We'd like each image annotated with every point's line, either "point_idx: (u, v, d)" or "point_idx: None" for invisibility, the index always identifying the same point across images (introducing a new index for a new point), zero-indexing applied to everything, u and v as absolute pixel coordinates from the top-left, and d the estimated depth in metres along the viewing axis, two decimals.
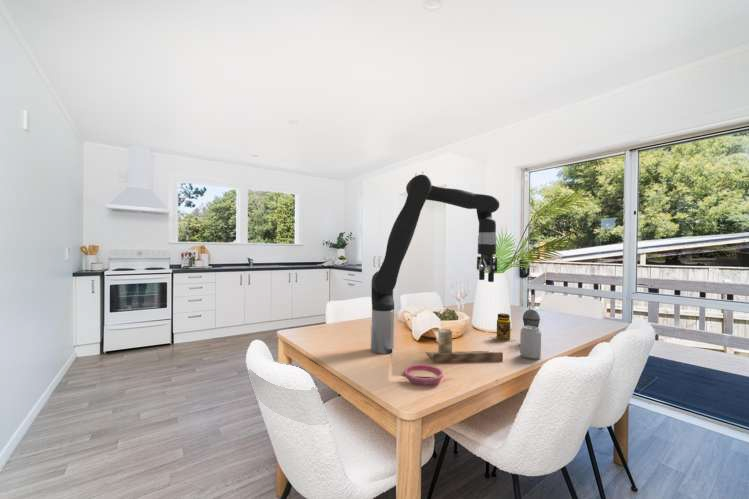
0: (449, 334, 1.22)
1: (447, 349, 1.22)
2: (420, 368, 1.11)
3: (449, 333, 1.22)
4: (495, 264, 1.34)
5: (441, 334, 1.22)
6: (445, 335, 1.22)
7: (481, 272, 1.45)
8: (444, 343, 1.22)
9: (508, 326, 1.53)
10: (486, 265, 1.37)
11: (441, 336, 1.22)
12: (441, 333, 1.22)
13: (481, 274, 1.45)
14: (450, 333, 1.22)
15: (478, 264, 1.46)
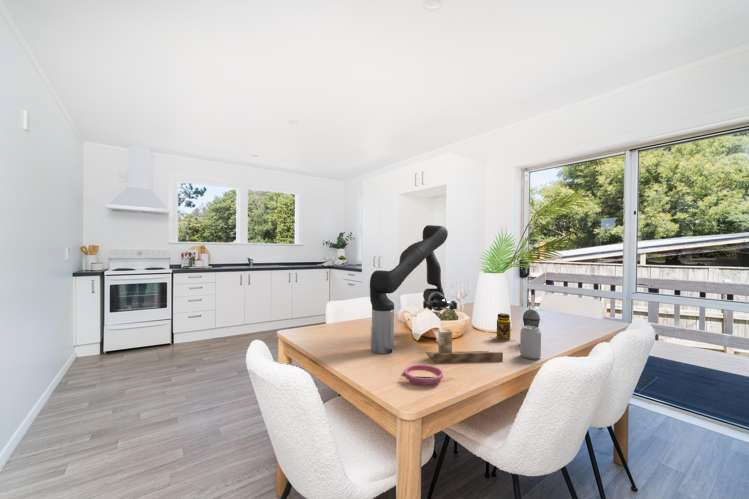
0: (449, 334, 1.22)
1: (447, 349, 1.22)
2: (420, 368, 1.11)
3: (449, 333, 1.22)
4: None
5: (441, 334, 1.22)
6: (445, 335, 1.22)
7: None
8: (444, 343, 1.22)
9: (508, 326, 1.53)
10: (447, 301, 1.41)
11: (441, 336, 1.22)
12: (441, 333, 1.22)
13: None
14: (450, 333, 1.22)
15: (426, 302, 1.42)
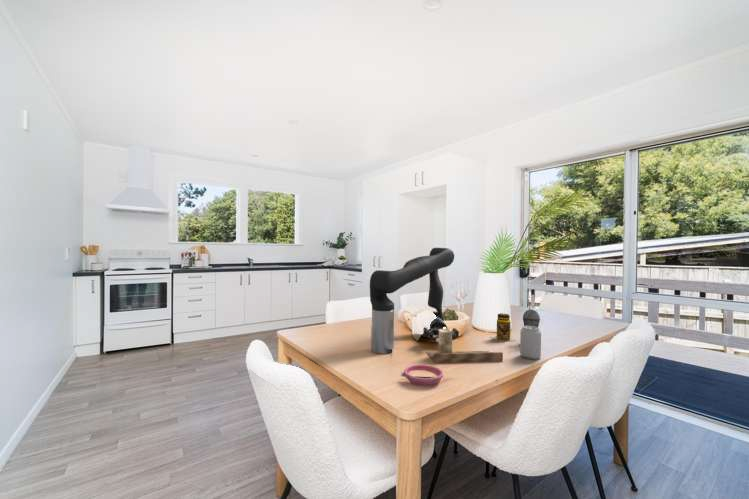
0: (449, 334, 1.22)
1: (447, 349, 1.22)
2: (420, 368, 1.11)
3: (449, 333, 1.22)
4: None
5: (441, 334, 1.22)
6: (445, 335, 1.22)
7: None
8: (444, 343, 1.22)
9: (508, 326, 1.53)
10: None
11: (441, 336, 1.22)
12: (441, 333, 1.22)
13: None
14: (450, 333, 1.22)
15: (426, 330, 1.37)
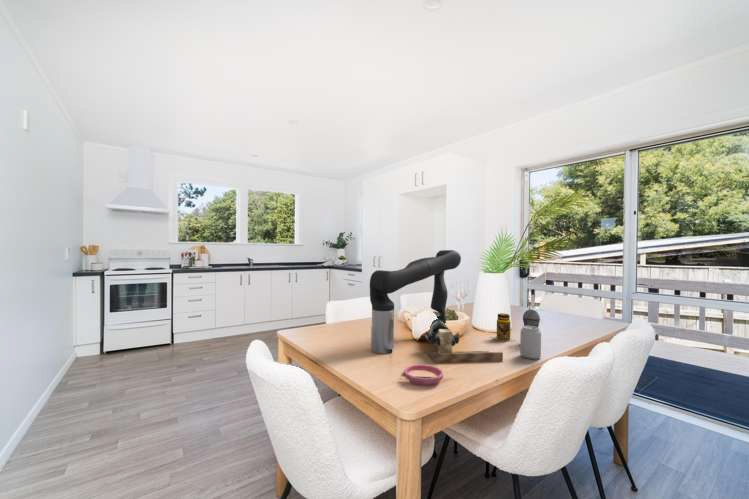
0: (449, 334, 1.22)
1: (447, 349, 1.22)
2: (420, 368, 1.11)
3: (449, 333, 1.22)
4: (458, 339, 1.28)
5: (441, 334, 1.22)
6: (445, 335, 1.22)
7: None
8: (444, 343, 1.22)
9: (508, 326, 1.53)
10: None
11: (441, 336, 1.22)
12: (441, 333, 1.22)
13: None
14: (450, 333, 1.22)
15: (431, 335, 1.28)
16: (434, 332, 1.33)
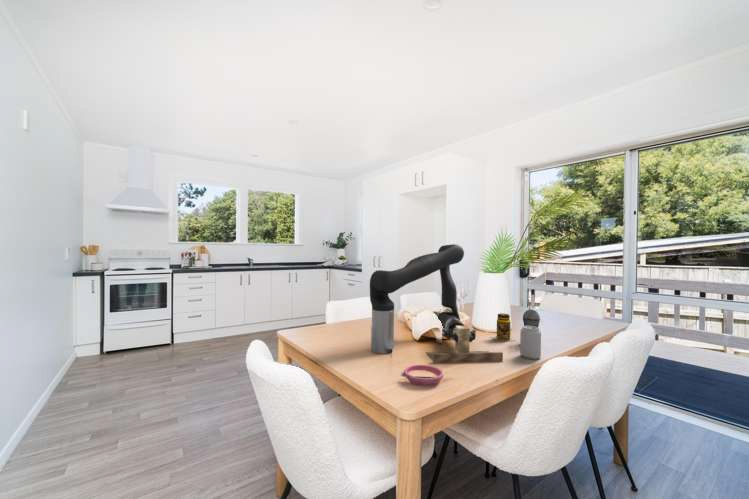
0: (467, 330, 1.23)
1: (464, 345, 1.23)
2: (420, 368, 1.11)
3: (467, 329, 1.23)
4: (475, 336, 1.29)
5: (459, 330, 1.23)
6: (463, 331, 1.23)
7: None
8: (462, 339, 1.23)
9: (508, 326, 1.53)
10: None
11: (459, 332, 1.23)
12: (459, 329, 1.23)
13: None
14: (468, 329, 1.23)
15: None
16: (450, 328, 1.33)
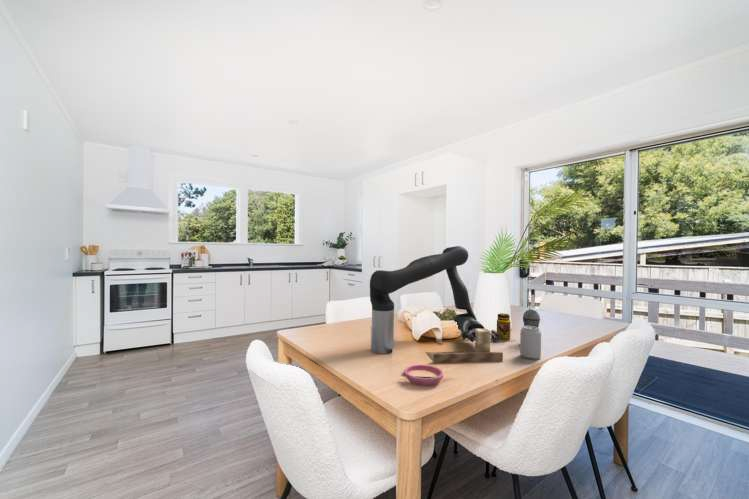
0: (487, 333, 1.24)
1: (485, 348, 1.24)
2: (420, 368, 1.11)
3: (487, 332, 1.24)
4: None
5: (479, 333, 1.24)
6: (483, 334, 1.24)
7: None
8: (482, 342, 1.24)
9: (508, 326, 1.53)
10: None
11: (479, 335, 1.24)
12: (479, 332, 1.24)
13: None
14: (488, 332, 1.24)
15: (464, 332, 1.31)
16: (470, 330, 1.34)
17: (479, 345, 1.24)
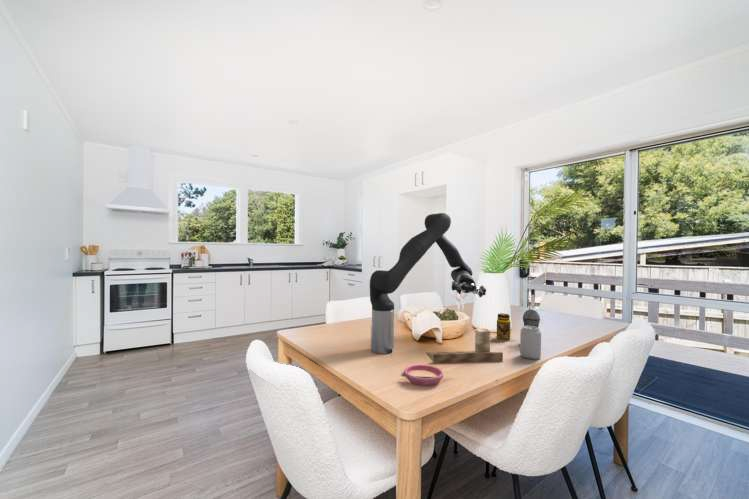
0: (487, 333, 1.24)
1: (485, 348, 1.24)
2: (421, 368, 1.11)
3: (487, 332, 1.24)
4: None
5: (479, 333, 1.24)
6: (483, 334, 1.24)
7: None
8: (482, 342, 1.24)
9: (508, 326, 1.53)
10: (477, 286, 1.42)
11: (479, 335, 1.24)
12: (479, 332, 1.24)
13: None
14: (488, 332, 1.24)
15: (455, 284, 1.43)
16: (461, 283, 1.46)
17: (479, 345, 1.24)
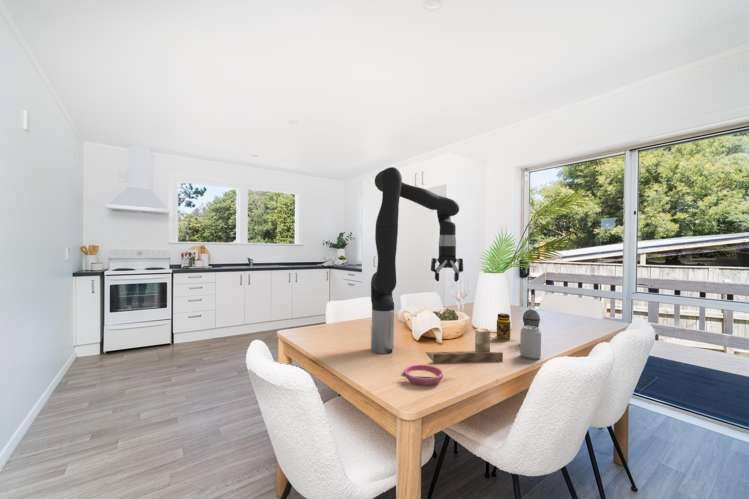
0: (487, 333, 1.24)
1: (485, 348, 1.24)
2: (421, 368, 1.11)
3: (487, 332, 1.24)
4: None
5: (479, 333, 1.24)
6: (483, 334, 1.24)
7: None
8: (482, 342, 1.24)
9: (508, 326, 1.53)
10: (455, 266, 1.46)
11: (479, 335, 1.24)
12: (479, 332, 1.24)
13: None
14: (488, 332, 1.24)
15: None
16: (441, 258, 1.45)
17: (479, 345, 1.24)
